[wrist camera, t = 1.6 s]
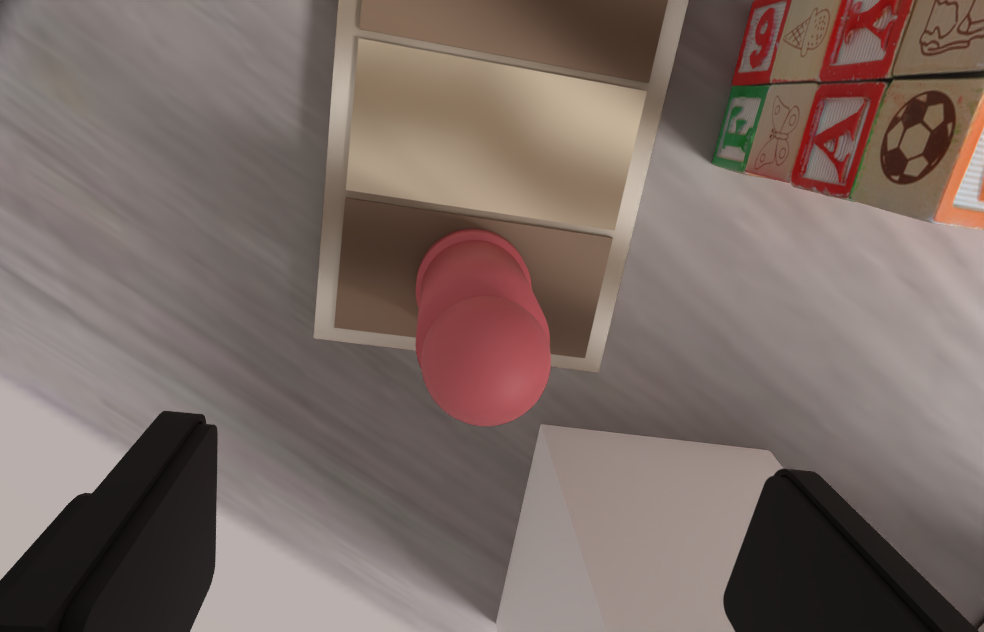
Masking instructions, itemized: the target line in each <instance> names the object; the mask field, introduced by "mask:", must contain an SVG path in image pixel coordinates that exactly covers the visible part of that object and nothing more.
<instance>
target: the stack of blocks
mask: <svg viewBox="0 0 984 632" xmlns="http://www.w3.org/2000/svg"><path fill="white" fill-rule="evenodd" d="M712 164H713V165H715V166H718V167H721V168H724V169H727V170H731V171H734V172H737V173H741V174H744V175H749V176H756V177H763V178H769V179H774V180H779V181H783V182H788V183H791V185H792V186H793V187H796V188H799V189H803V190H807V191H811V192H816V193H820V194H823V195H826V196H830V197H835V198H840V199H844V200H848V201H853V202H859V203H863V204H866V205H870V206H873V207H876V208H880V209H883V210H886V211H890V212H893V213H897V214H901V215H904V216H908V217H911V218H915V219H918V220H922V221H926V222H930V223H935V224H942V225H949V226H956V227H964V228H972V229H980V230H984V0H755V1H754V2H753V4H752V7H751V11H750V15H749V19H748V23H747V26H746V30H745V34H744V38H743V42H742V45H741V49H740V53H739V57H738V61H737V65H736V69H735V73H734V76H733V80H732V89H731V93H730V97H729V100H728V104H727V108H726V112H725V115H724V119H723V123H722V126H721V130H720V134H719V138H718V142H717V145H716V149H715V153H714V156H713V160H712Z"/></svg>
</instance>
